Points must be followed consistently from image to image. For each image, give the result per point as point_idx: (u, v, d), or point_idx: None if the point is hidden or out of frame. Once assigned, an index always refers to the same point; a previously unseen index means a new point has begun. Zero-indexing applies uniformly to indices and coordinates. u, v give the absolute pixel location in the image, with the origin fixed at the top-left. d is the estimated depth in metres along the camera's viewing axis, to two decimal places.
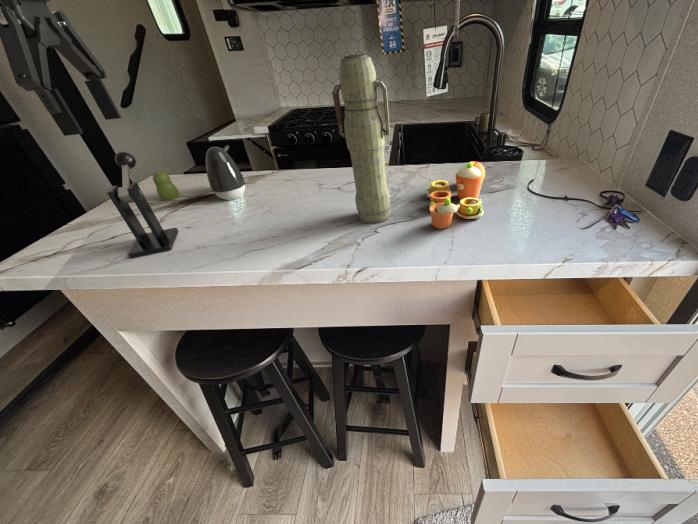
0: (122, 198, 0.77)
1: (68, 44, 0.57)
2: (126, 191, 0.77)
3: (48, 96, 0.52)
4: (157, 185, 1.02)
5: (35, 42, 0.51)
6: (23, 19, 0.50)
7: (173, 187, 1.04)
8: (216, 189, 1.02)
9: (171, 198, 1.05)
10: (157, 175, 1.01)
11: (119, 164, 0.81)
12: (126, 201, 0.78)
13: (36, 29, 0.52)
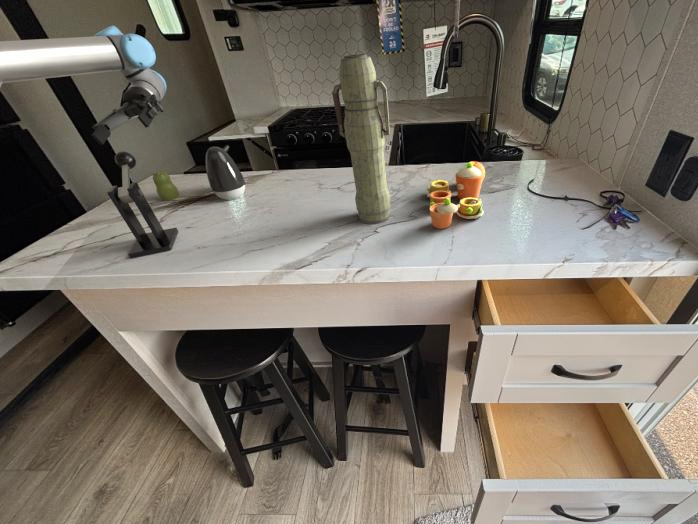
0: (122, 198, 0.77)
1: (127, 120, 0.97)
2: (126, 191, 0.77)
3: (155, 113, 0.92)
4: (157, 185, 1.02)
5: None
6: None
7: (173, 187, 1.04)
8: (216, 189, 1.02)
9: (171, 198, 1.05)
10: (157, 175, 1.01)
11: (119, 164, 0.81)
12: (126, 201, 0.78)
13: None
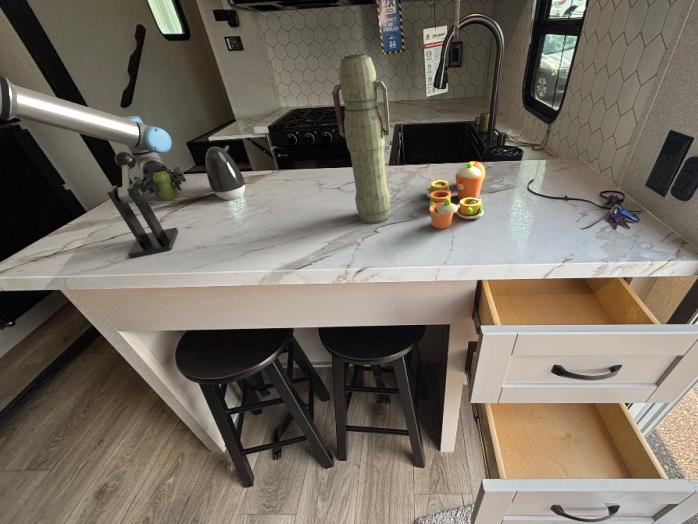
0: (122, 198, 0.77)
1: None
2: (126, 191, 0.77)
3: None
4: (157, 185, 1.02)
5: None
6: None
7: (173, 187, 1.04)
8: (216, 189, 1.02)
9: (171, 198, 1.05)
10: (157, 175, 1.01)
11: (119, 164, 0.81)
12: (126, 201, 0.78)
13: None
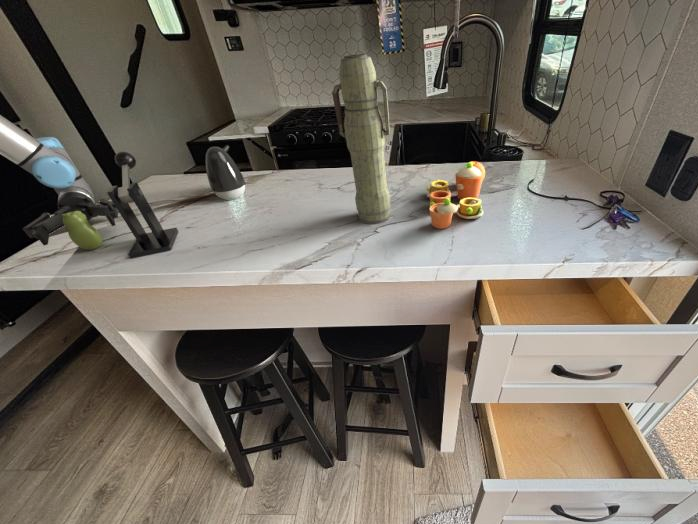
0: (122, 198, 0.77)
1: None
2: (126, 191, 0.77)
3: (117, 214, 0.88)
4: (68, 229, 0.81)
5: None
6: None
7: (91, 231, 0.83)
8: (216, 189, 1.02)
9: (88, 244, 0.84)
10: (67, 217, 0.80)
11: (119, 164, 0.81)
12: (126, 201, 0.78)
13: None
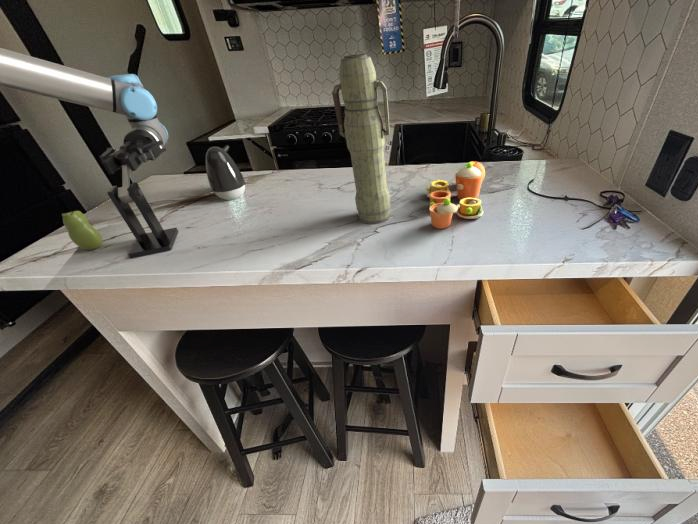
0: (122, 198, 0.77)
1: None
2: (126, 191, 0.77)
3: (144, 160, 0.83)
4: (68, 229, 0.81)
5: None
6: None
7: (91, 231, 0.83)
8: (216, 189, 1.02)
9: (88, 244, 0.84)
10: (67, 217, 0.80)
11: (119, 164, 0.81)
12: (126, 201, 0.78)
13: None
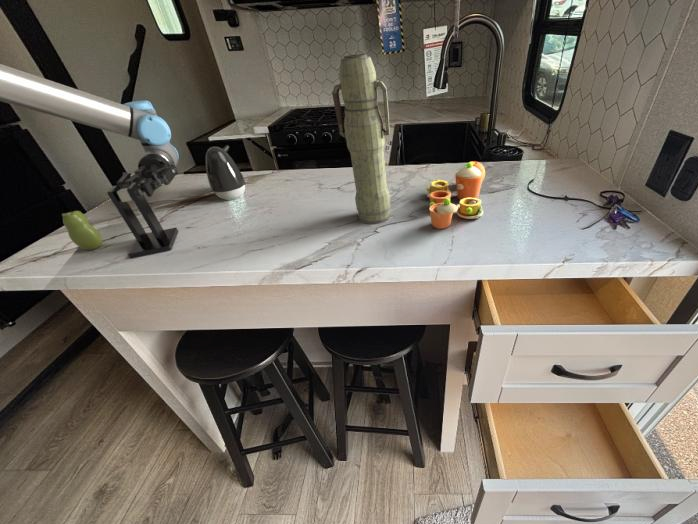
0: (120, 194, 0.76)
1: None
2: (126, 189, 0.77)
3: (159, 185, 0.88)
4: (68, 229, 0.81)
5: None
6: None
7: (91, 231, 0.83)
8: (216, 189, 1.02)
9: (88, 244, 0.84)
10: (67, 217, 0.80)
11: None
12: (124, 199, 0.77)
13: None
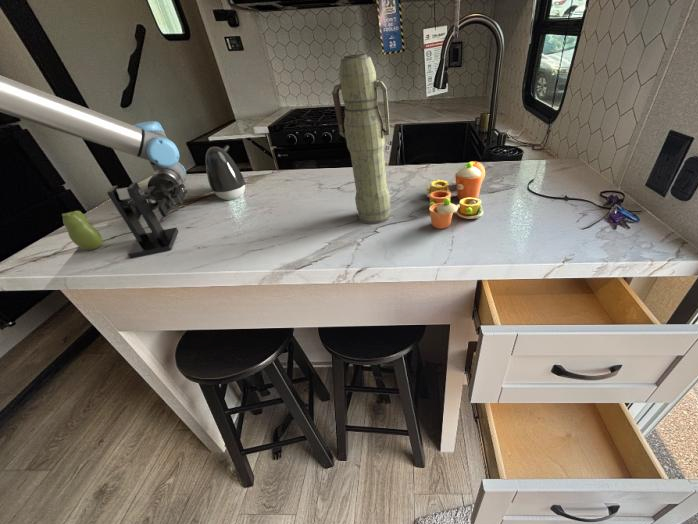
0: (119, 191, 0.76)
1: None
2: None
3: (173, 205, 0.91)
4: (68, 229, 0.81)
5: None
6: None
7: (91, 231, 0.83)
8: (216, 189, 1.02)
9: (88, 244, 0.84)
10: (67, 217, 0.80)
11: None
12: (122, 196, 0.76)
13: (170, 196, 0.98)
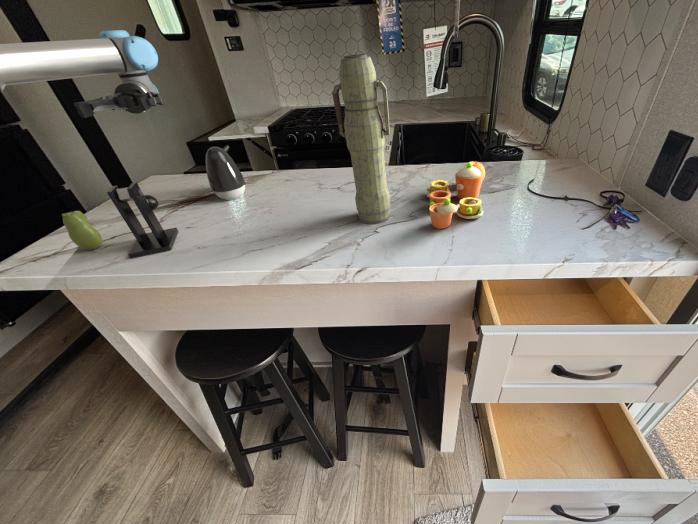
0: (119, 191, 0.76)
1: (115, 108, 0.93)
2: None
3: (154, 103, 0.90)
4: (68, 229, 0.81)
5: None
6: None
7: (91, 231, 0.83)
8: (216, 189, 1.02)
9: (88, 244, 0.84)
10: (67, 217, 0.80)
11: None
12: (122, 196, 0.76)
13: None
